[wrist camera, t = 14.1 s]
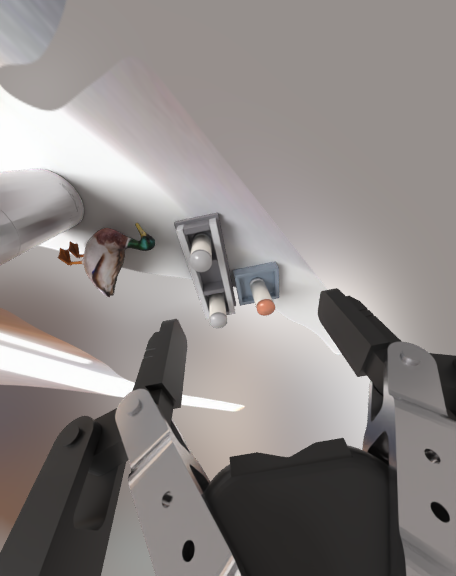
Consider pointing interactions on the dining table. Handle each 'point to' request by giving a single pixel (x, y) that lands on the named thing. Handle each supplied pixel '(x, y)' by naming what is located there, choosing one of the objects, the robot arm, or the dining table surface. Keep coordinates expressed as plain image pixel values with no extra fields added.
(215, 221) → the grey compartment rack
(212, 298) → the fuse
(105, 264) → the decorative duck model
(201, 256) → the white domed part
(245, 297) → the tray
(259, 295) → the cylinder
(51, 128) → the dining table surface
